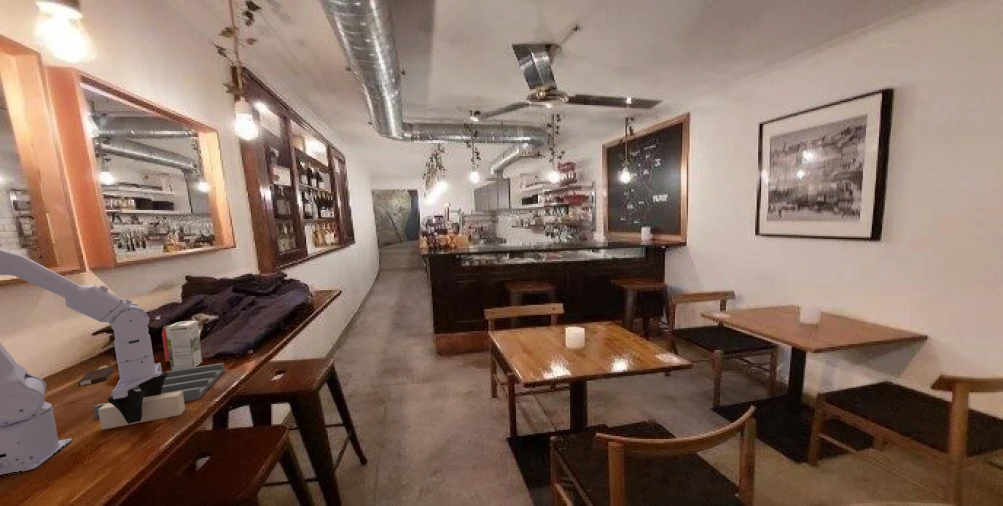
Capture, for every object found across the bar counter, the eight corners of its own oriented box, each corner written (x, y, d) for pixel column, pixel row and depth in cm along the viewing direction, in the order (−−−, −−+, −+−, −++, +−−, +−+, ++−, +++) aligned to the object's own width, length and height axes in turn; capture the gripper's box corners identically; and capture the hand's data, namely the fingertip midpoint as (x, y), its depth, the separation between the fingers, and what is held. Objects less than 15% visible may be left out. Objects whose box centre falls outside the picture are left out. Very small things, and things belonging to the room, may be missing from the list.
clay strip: (185, 410, 86) (182, 390, 85) (180, 415, 84) (177, 395, 83) (109, 424, 81) (105, 404, 80) (101, 430, 79) (97, 409, 78)
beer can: (187, 361, 116) (182, 326, 114) (161, 365, 113) (156, 329, 112) (196, 354, 122) (191, 320, 121) (171, 357, 119) (166, 323, 118)
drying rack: (198, 399, 91) (197, 389, 90) (94, 417, 83) (92, 407, 83) (224, 371, 107) (223, 362, 107) (139, 384, 100) (138, 375, 100)
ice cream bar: (92, 371, 112) (78, 388, 100) (91, 366, 111) (77, 382, 100) (116, 366, 115) (105, 382, 103) (116, 361, 115) (104, 377, 103)
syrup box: (181, 366, 112) (175, 322, 111) (203, 363, 114) (197, 319, 112) (171, 373, 107) (164, 327, 105) (194, 370, 109) (188, 324, 107)
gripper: (139, 366, 75) (148, 425, 77) (173, 343, 89) (181, 394, 90) (94, 372, 73) (105, 434, 74) (137, 348, 86) (145, 400, 88)
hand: (144, 413), depth 82 cm, fingers open, 7 cm apart
